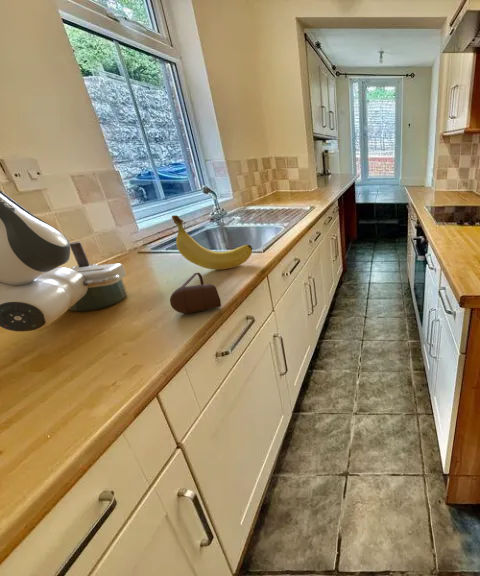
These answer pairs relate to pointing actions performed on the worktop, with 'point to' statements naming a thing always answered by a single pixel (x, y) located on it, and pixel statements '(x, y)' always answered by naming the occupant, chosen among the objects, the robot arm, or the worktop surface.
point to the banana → (208, 251)
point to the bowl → (101, 297)
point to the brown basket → (195, 297)
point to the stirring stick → (79, 254)
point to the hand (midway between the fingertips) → (87, 267)
